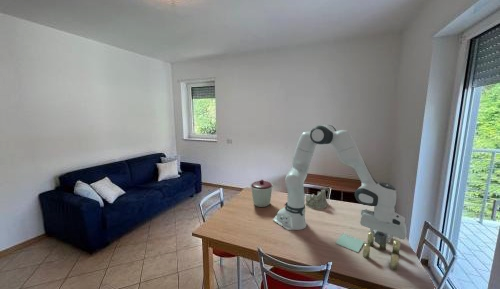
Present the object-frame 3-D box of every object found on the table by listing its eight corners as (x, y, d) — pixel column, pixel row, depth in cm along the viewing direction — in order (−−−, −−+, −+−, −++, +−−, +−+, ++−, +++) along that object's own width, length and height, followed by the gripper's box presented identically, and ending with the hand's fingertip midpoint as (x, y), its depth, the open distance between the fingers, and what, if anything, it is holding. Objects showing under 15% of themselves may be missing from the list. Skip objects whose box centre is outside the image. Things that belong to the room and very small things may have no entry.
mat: (335, 243, 120) (335, 242, 120) (342, 234, 129) (342, 233, 129) (358, 253, 112) (358, 252, 112) (364, 242, 121) (364, 241, 121)
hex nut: (384, 246, 106) (385, 238, 105) (373, 242, 109) (374, 234, 108) (387, 241, 110) (388, 233, 109) (376, 237, 113) (377, 229, 112)
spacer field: (360, 256, 110) (361, 244, 109) (368, 241, 121) (369, 230, 120) (396, 271, 99) (398, 258, 98) (401, 254, 111) (403, 242, 109)
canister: (269, 211, 159) (269, 184, 156) (247, 207, 166) (246, 182, 162) (275, 201, 176) (275, 177, 172) (255, 198, 183) (254, 175, 179)
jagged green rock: (329, 203, 170) (329, 185, 168) (322, 211, 158) (321, 193, 155) (311, 199, 180) (310, 182, 178) (303, 207, 168) (302, 189, 165)
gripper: (359, 210, 111) (357, 233, 114) (407, 224, 98) (403, 250, 100) (363, 206, 116) (360, 228, 118) (408, 219, 102) (405, 244, 105)
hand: (380, 238), depth 109 cm, fingers closed on hex nut, 5 cm apart
